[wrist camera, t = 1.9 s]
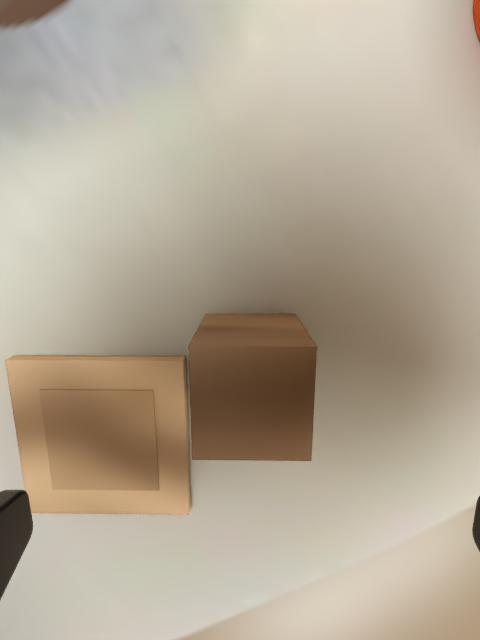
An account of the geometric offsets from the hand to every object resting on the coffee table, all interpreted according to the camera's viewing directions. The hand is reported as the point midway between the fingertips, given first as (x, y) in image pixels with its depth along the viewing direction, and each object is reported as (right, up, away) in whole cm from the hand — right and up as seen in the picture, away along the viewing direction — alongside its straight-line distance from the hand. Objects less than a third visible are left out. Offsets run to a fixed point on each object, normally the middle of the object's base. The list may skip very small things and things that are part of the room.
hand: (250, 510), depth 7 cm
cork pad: (-7, -2, +10) cm, 12 cm away
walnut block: (0, +2, +9) cm, 10 cm away
